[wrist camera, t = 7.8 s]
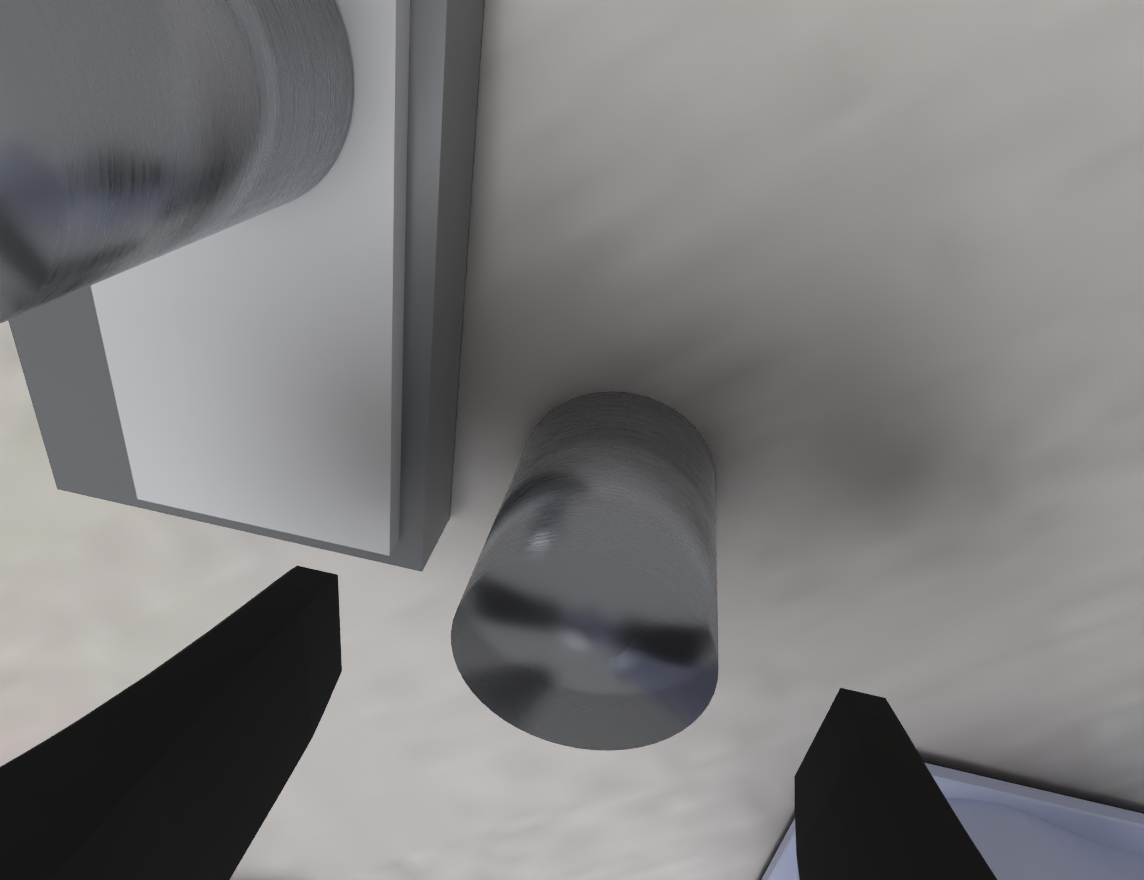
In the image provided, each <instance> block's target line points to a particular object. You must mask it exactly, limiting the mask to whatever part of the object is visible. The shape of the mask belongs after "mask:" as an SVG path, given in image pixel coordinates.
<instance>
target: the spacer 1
mask: <svg viewBox="0 0 1144 880" xmlns="http://www.w3.org/2000/svg"><path fill="white" fill-rule="evenodd" d="M351 105H352V71H351V60H350V55H349V49H348V44H347V39H346V35H345V31H344V28H343V25H342V21H341V18H340V15H339V12H338V10H337V7H336V5H335V2H334V0H0V323H2V322H4V321H7V320H9V319H11V318H14V317H16V316H19V315H21V314H23V313H26V312H28V311H31V310H33V309H35V308H38V307H40V306H43V305H45V304H47V303H50V302H52V301H55V300H57V299H59V298H62V297H64V296H66V295H69V294H71V293H74V292H76V291H78V290H81V289H83V288H86V287H88V286H90V285H93V284H95V283H98V282H100V281H102V280H105V279H107V278H110V277H112V276H114V275H117V274H119V273H122V272H124V271H126V270H129V269H131V268H134V267H136V266H138V265H141V264H143V263H146V262H148V261H150V260H153V259H155V258H157V257H160V256H162V255H165V254H167V253H169V252H172V251H174V250H177V249H179V248H181V247H184V246H186V245H189V244H191V243H193V242H196V241H198V240H201V239H203V238H205V237H208V236H210V235H213V234H215V233H217V232H220V231H222V230H225V229H227V228H229V227H232V226H234V225H236V224H239V223H241V222H244V221H246V220H248V219H251V218H253V217H256V216H258V215H260V214H263V213H265V212H268V211H270V210H272V209H275V208H277V207H280V206H282V205H284V204H287V203H289V202H291V201H293V200H295V199H297V198H299V197H300V196H302V195H304V194H305V193H307V192H308V191H309V190H310V189H311V188H313V187H314V186H315V185H316V184H317V183H318V182H319V181H320V180H321V179H322V178H323V177H324V175H325V174H326V173H327V172H328V170H329V169H330V167H331V166H332V164H333V162H334V161H335V159H336V158H337V155H338V153H339V151H340V149H341V146H342V144H343V142H344V138H345V135H346V131H347V128H348V124H349V119H350V112H351Z"/></svg>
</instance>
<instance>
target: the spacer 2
mask: <svg viewBox="0 0 1144 880" xmlns="http://www.w3.org/2000/svg"><path fill="white" fill-rule="evenodd" d="M451 645H452V651H453V656H454V659H455V662H456V665H457V667H458V670H459V672H460V673H461V675H462V677H463V679H464V681H465V682H466V684H467V685H468V686H469V688H470V689H471V691H472V692H473V693H474V694H475V695H476V696H477V697H478V698H479V700H480V701H481V702H482V703H483V704H485V705H486V706H487V707H488V708H489V709H490V710H491V711H492V712H494V713H495V714H497V715H498V716H499V717H501V718H502V719H503V720H505V721H507V722H508V723H510V724H512V725H513V726H515V727H517V728H519V729H521V730H523V731H525V732H527V733H529V734H531V735H533V736H536V737H539V738H541V739H544V740H547V741H550V742H554V743H557V744H561V745H565V746H570V747H575V748H581V749H590V750H624V749H631V748H638V747H643V746H646V745H650V744H654V743H657V742H660V741H662V740H665V739H667V738H670V737H671V736H673V735H675V734H677V733H679V732H681V731H682V730H684V729H685V728H686V727H688V726H689V725H691V724H692V723H693V722H694V721H695V720H696V719H697V718H698V717H699V716H700V715H701V714H702V713H703V711H704V710H705V709H706V707H707V706H708V704H709V702H710V700H711V698H712V696H713V694H714V692H715V688H716V684H717V679H718V612H717V543H716V477H715V467H714V463H713V459H712V455H711V453H710V451H709V448H708V446H707V444H706V442H705V441H704V439H703V438H702V436H701V434H700V433H699V432H698V431H697V430H696V428H695V427H694V426H693V425H692V424H691V423H690V422H689V421H688V420H687V419H686V418H685V417H684V416H682V415H681V414H679V413H678V412H677V411H675V410H674V409H672V408H670V407H668V406H667V405H665V404H663V403H661V402H659V401H656V400H654V399H651V398H648V397H645V396H641V395H637V394H631V393H625V392H601V393H593V394H589V395H584V396H581V397H578V398H575V399H572V400H570V401H568V402H566V403H564V404H562V405H560V406H559V407H557V408H556V409H555V410H553V411H552V412H550V413H549V414H548V415H547V416H546V417H545V418H544V419H543V420H542V421H541V422H540V423H539V425H538V426H537V427H536V428H535V430H534V432H533V434H532V435H531V437H530V439H529V441H528V444H527V446H526V449H525V451H524V453H523V456H522V458H521V460H520V463H519V465H518V467H517V470H516V472H515V474H514V477H513V479H512V481H511V484H510V486H509V489H508V491H507V493H506V496H505V498H504V500H503V503H502V505H501V507H500V510H499V512H498V514H497V517H496V519H495V521H494V524H493V526H492V529H491V531H490V533H489V536H488V538H487V540H486V543H485V545H484V547H483V550H482V552H481V554H480V557H479V559H478V561H477V564H476V566H475V569H474V571H473V573H472V576H471V578H470V580H469V583H468V585H467V587H466V590H465V592H464V594H463V597H462V599H461V601H460V604H459V606H458V609H457V611H456V614H455V617H454V619H453V624H452V630H451Z"/></svg>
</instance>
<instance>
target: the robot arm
mask: <svg viewBox="0 0 1144 880" xmlns="http://www.w3.org/2000/svg"><path fill="white" fill-rule="evenodd" d="M341 671H342V666H341V642H340V618H339V595H338V575H336V574H332V573H327V572H323V571H318V570H314V569H309V568H305V567H300V566H296V567H295V568H293V569H291V570H290V571H288V572H287V573H286V574H284V575H283V576H282V577H280V578H279V579H278V580H276V581H275V582H274V583H272V584H271V585H270V586H268V587H267V588H266V589H264V590H263V591H262V592H260V593H259V594H258V595H256V596H255V597H254V598H253V599H251V600H250V601H249V602H247V603H246V604H245V605H243V606H242V607H241V608H239V609H238V610H237V611H235V612H234V613H233V614H231V615H230V616H229V617H227V618H226V619H224V620H223V621H222V622H220V623H219V624H218V625H216V626H215V627H214V628H212V629H211V630H210V631H208V632H207V633H206V634H204V635H203V636H201V637H200V638H199V639H197V640H196V641H194V642H193V643H192V644H190V645H189V646H187V647H186V648H184V649H183V650H182V651H180V652H179V653H177V654H176V655H175V656H173V657H172V658H170V659H169V660H168V661H166V662H165V663H163V664H162V665H161V666H159V667H158V668H156V669H155V670H153V671H152V672H151V673H149V674H148V675H146V676H145V677H143V678H142V679H140V680H139V681H137V682H136V683H134V684H133V685H131V686H130V687H128V688H127V689H125V690H124V691H122V692H121V693H119V694H118V695H116V696H114V697H113V698H111V699H110V700H108V701H107V702H105V703H104V704H102V705H101V706H99V707H98V708H96V709H95V710H93V711H92V712H90V713H89V714H87V715H86V716H84V717H82V718H81V719H79V720H78V721H76V722H75V723H73V724H71V725H70V726H68V727H67V728H65V729H63V730H62V731H60V732H58V733H57V734H55V735H54V736H52V737H50V738H49V739H47V740H45V741H44V742H42V743H40V744H39V745H37V746H35V747H34V748H32V749H30V750H29V751H27V752H25V753H24V754H22V755H20V756H18V757H17V758H15V759H13V760H12V761H10V762H8V763H6V764H5V765H3V766H1V767H0V880H230V878H231V876H232V874H233V873H234V871H235V869H236V868H237V866H238V864H239V863H240V861H241V859H242V857H243V856H244V854H245V852H246V851H247V849H248V847H249V845H250V844H251V842H252V840H253V839H254V837H255V835H256V834H257V832H258V830H259V828H260V827H261V825H262V823H263V822H264V820H265V818H266V817H267V815H268V813H269V811H270V810H271V808H272V806H273V805H274V803H275V801H276V800H277V798H278V796H279V794H280V793H281V791H282V789H283V788H284V786H285V784H286V782H287V781H288V779H289V777H290V775H291V774H292V772H293V770H294V769H295V767H296V765H297V763H298V762H299V760H300V758H301V756H302V755H303V753H304V751H305V749H306V748H307V746H308V744H309V742H310V741H311V739H312V737H313V735H314V733H315V730H316V728H317V726H318V724H319V722H320V719H321V717H322V715H323V713H324V711H325V708H326V706H327V704H328V702H329V699H330V697H331V695H332V692H333V690H334V688H335V685H336V683H337V681H338V678H339V676H340V674H341ZM761 880H1144V814H1142V813H1138V812H1134V811H1130V810H1125V809H1121V808H1117V807H1112V806H1108V805H1104V804H1100V803H1095V802H1091V801H1087V800H1082V799H1078V798H1074V797H1070V796H1065V795H1061V794H1057V793H1052V792H1048V791H1044V790H1040V789H1035V788H1031V787H1027V786H1022V785H1018V784H1014V783H1010V782H1005V781H1001V780H997V779H992V778H988V777H984V776H980V775H975V774H971V773H967V772H962V771H958V770H954V769H950V768H945V767H941V766H937V765H932V764H928V763H924V761H923V760H922V758H921V756H920V755H919V753H918V751H917V750H916V748H915V746H914V745H913V743H912V741H911V740H910V738H909V736H908V735H907V733H906V731H905V730H904V728H903V726H902V725H901V723H900V721H899V720H898V718H897V716H896V715H895V713H894V711H893V710H892V708H891V707H890V705H889V703H888V702H887V700H886V698H883V697H878V696H874V695H869V694H865V693H861V692H856V691H852V690H847V689H843V688H840V690H839V692H838V694H837V696H836V698H835V700H834V701H833V703H832V705H831V707H830V709H829V711H828V713H827V715H826V717H825V719H824V721H823V723H822V725H821V727H820V729H819V731H818V732H817V734H816V736H815V738H814V740H813V742H812V744H811V746H810V748H809V750H808V752H807V754H806V756H805V758H804V760H803V761H802V763H801V765H800V767H799V769H798V771H797V773H796V775H795V818H794V820H793V822H792V824H791V826H790V828H789V830H788V831H787V833H786V835H785V837H784V839H783V841H782V842H781V844H780V846H779V848H778V850H777V852H776V854H775V855H774V857H773V859H772V861H771V863H770V865H769V867H768V868H767V870H766V872H765V874H764V876H763V878H762V879H761Z"/></svg>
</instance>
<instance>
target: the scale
mask: <svg viewBox="0 0 1144 880" xmlns="http://www.w3.org/2000/svg"><path fill="white" fill-rule="evenodd" d="M334 2H335V5H336V7H337V10H338V12H339V15H340V18H341V21H342V25H343V28H344V31H345V35H346V39H347V44H348V49H349V55H350V60H351V71H352V105H351V112H350V119H349V124H348V128H347V131H346V135H345V138H344V142H343V144H342V146H341V149H340V151H339V153H338V155H337V158H336V159H335V161H334V162H333V164H332V166H331V167H330V169H329V170H328V172H327V173H326V174H325V175H324V177H323V178H322V179H321V180H320V181H319V182H318V183H317V184H316V185H315V186H314V187H313V188H311V189H310V190H309V191H308V192H307V193H305V194H304V195H302V196H300V197H299V198H297V199H295V200H293V201H291V202H289V203H287V204H284V205H282V206H280V207H277V208H275V209H272V210H270V211H268V212H265V213H263V214H260V215H258V216H256V217H253V218H251V219H248V220H246V221H244V222H241V223H239V224H236V225H234V226H232V227H229V228H227V229H225V230H222V231H220V232H217V233H215V234H213V235H210V236H208V237H205V238H203V239H201V240H198V241H196V242H193V243H191V244H189V245H186V246H184V247H181V248H179V249H177V250H174V251H172V252H169V253H167V254H165V255H162V256H160V257H157V258H155V259H153V260H150V261H148V262H146V263H143V264H141V265H138V266H136V267H134V268H131V269H129V270H126V271H124V272H122V273H119V274H117V275H114V276H112V277H110V278H107V279H105V280H102V281H100V282H98V283H95V284H93V285H90V286H88V287H86V288H83V289H81V290H78V291H76V292H74V293H71V294H69V295H66V296H64V297H62V298H59V299H57V300H55V301H52V302H50V303H47V304H45V305H43V306H40V307H38V308H35V309H33V310H31V311H28V312H26V313H23V314H21V315H19V316H16V317H14V318H11V319H9V320H8V321H9V324H10V328H11V331H12V335H13V338H14V341H15V345H16V348H17V352H18V355H19V359H20V362H21V366H22V369H23V372H24V376H25V379H26V383H27V386H28V390H29V393H30V397H31V400H32V403H33V407H34V410H35V414H36V417H37V421H38V424H39V427H40V431H41V434H42V438H43V441H44V445H45V448H46V452H47V455H48V458H49V462H50V465H51V469H52V472H53V476H54V479H55V483H56V486H57V489H60V490H64V491H69V492H73V493H77V494H82V495H86V496H91V497H95V498H99V499H104V500H108V501H113V502H117V503H122V504H126V505H130V506H135V507H139V508H144V509H148V510H152V511H157V512H161V513H166V514H170V515H175V516H179V517H183V518H188V519H192V520H197V521H201V522H206V523H210V524H214V525H219V526H223V527H228V528H232V529H236V530H241V531H245V532H250V533H254V534H259V535H263V536H267V537H272V538H276V539H281V540H285V541H289V542H294V543H298V544H303V545H307V546H312V547H316V548H320V549H325V550H329V551H334V552H338V553H342V554H347V555H351V556H356V557H360V558H365V559H369V560H373V561H378V562H382V563H387V564H391V565H396V566H400V567H404V568H409V569H413V570H418V571H423V569H424V567H425V565H426V563H427V561H428V559H429V557H430V555H431V553H432V551H433V549H434V548H435V546H436V544H437V542H438V540H439V538H440V536H441V534H442V532H443V530H444V528H445V526H446V524H447V522H448V521H449V516H450V501H451V486H452V471H453V456H454V442H455V427H456V412H457V397H458V382H459V367H460V352H461V337H462V322H463V307H464V292H465V278H466V263H467V248H468V233H469V218H470V203H471V188H472V173H473V158H474V143H475V128H476V114H477V99H478V84H479V69H480V54H481V39H482V24H483V9H484V0H334Z"/></svg>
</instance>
